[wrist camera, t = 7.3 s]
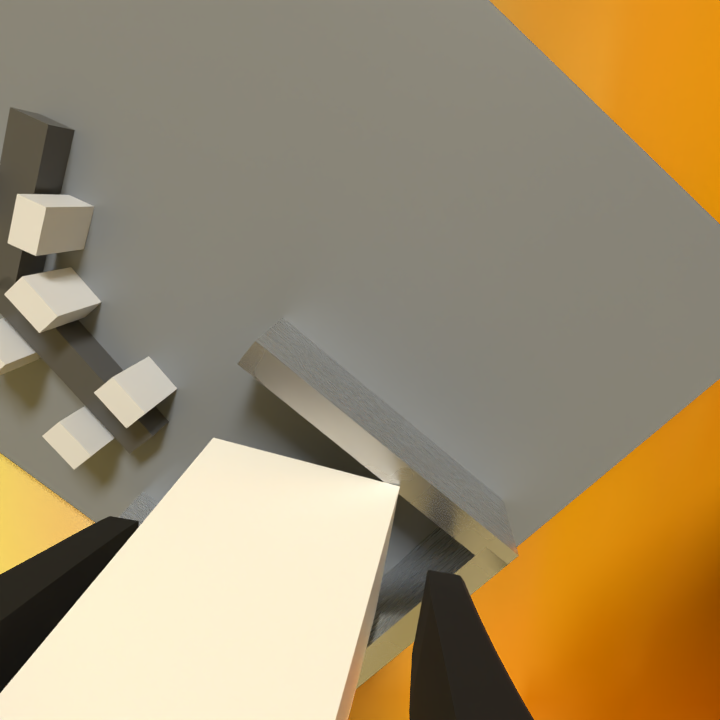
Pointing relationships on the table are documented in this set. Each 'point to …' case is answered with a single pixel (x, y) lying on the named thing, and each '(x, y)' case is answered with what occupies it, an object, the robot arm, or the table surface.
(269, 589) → the block
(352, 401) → the end holder
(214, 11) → the board
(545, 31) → the table surface
